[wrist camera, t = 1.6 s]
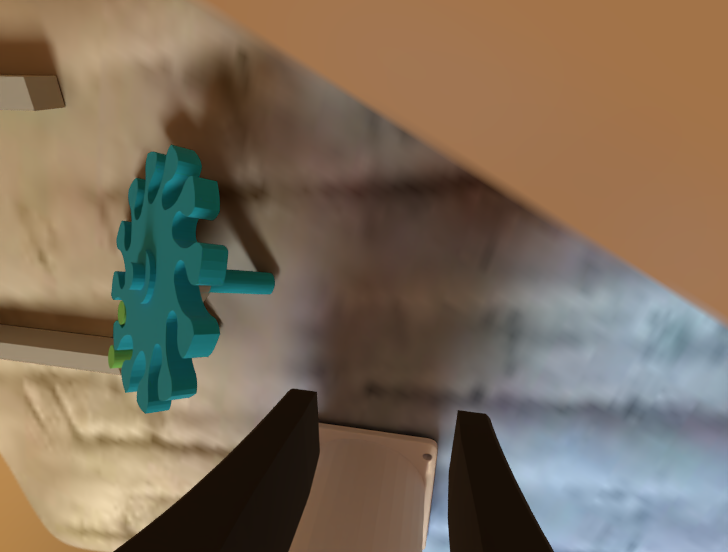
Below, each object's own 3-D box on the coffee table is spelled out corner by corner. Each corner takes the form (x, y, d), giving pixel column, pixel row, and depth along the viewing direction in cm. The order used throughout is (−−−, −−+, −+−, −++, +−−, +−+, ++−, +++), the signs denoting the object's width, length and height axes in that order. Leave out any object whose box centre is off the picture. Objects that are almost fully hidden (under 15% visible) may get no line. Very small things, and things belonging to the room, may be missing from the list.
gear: (152, 80, 15) (205, 324, 10) (291, 131, 19) (373, 321, 15) (85, 263, 21) (100, 465, 17) (200, 272, 25) (238, 436, 21)
